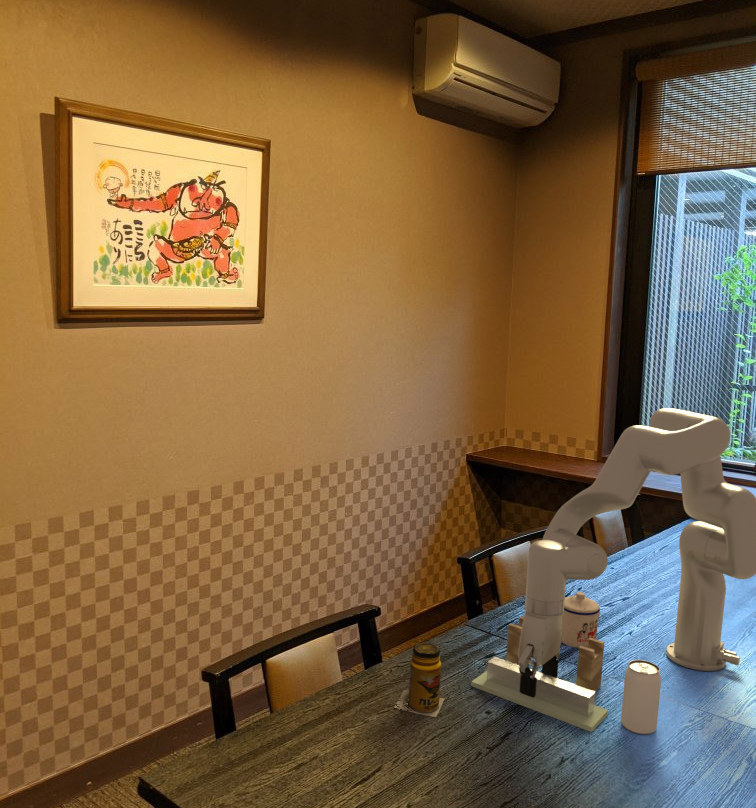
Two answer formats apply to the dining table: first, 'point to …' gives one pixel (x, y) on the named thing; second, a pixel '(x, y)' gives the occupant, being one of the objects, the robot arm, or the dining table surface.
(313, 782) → the dining table surface
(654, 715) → the can
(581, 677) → the post
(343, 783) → the dining table surface
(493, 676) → the rail
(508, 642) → the post
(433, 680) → the condiment
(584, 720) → the mat
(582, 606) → the teacup with lid
